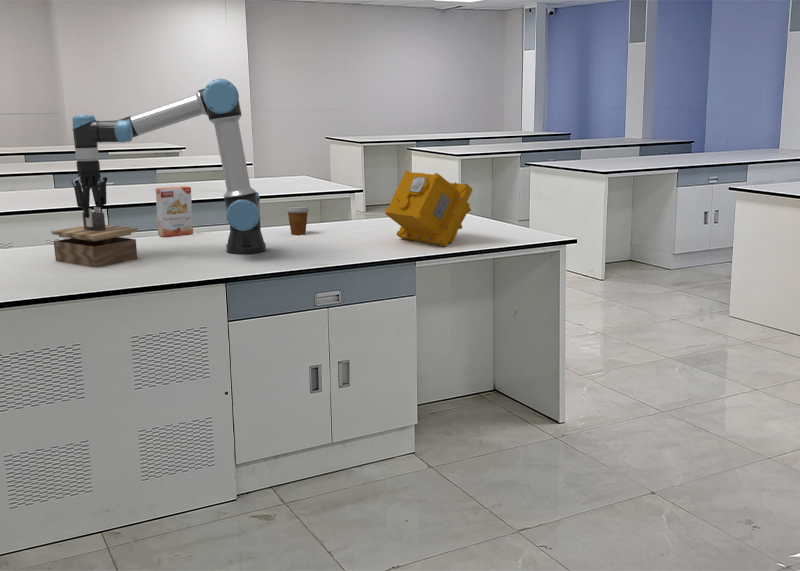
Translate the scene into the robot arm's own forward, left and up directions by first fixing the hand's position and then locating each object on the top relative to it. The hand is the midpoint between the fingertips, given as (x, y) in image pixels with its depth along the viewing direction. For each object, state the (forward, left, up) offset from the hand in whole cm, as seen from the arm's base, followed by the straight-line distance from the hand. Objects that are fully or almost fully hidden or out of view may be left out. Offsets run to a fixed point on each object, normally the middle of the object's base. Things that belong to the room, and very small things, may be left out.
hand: (94, 225), depth 279 cm
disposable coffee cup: (-23, -87, -13) cm, 91 cm away
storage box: (0, 0, -13) cm, 13 cm away
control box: (-82, -100, -13) cm, 130 cm away
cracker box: (+21, -57, -13) cm, 62 cm away
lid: (0, 0, -4) cm, 4 cm away
